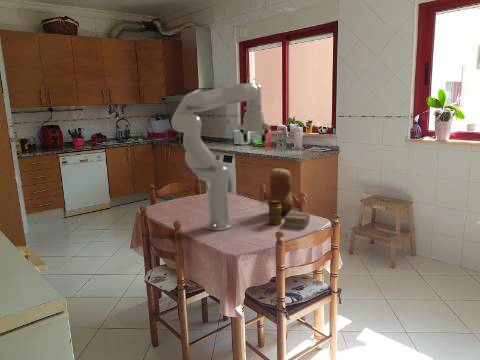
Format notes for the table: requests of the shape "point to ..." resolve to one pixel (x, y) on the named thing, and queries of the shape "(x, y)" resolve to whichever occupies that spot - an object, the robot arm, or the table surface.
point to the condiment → (274, 214)
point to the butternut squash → (281, 189)
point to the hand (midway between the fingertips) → (254, 142)
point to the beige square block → (297, 219)
